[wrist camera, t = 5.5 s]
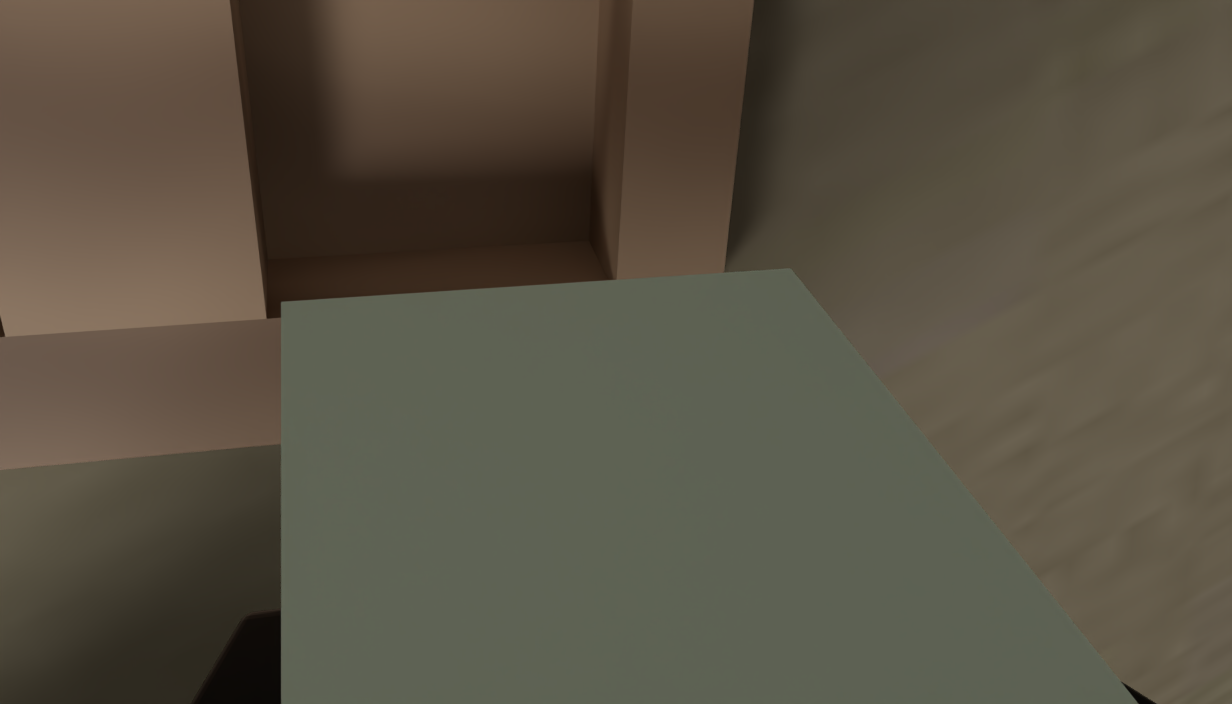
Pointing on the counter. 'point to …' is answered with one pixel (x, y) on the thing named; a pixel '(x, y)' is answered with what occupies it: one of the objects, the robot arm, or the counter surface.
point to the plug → (635, 511)
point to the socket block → (324, 184)
